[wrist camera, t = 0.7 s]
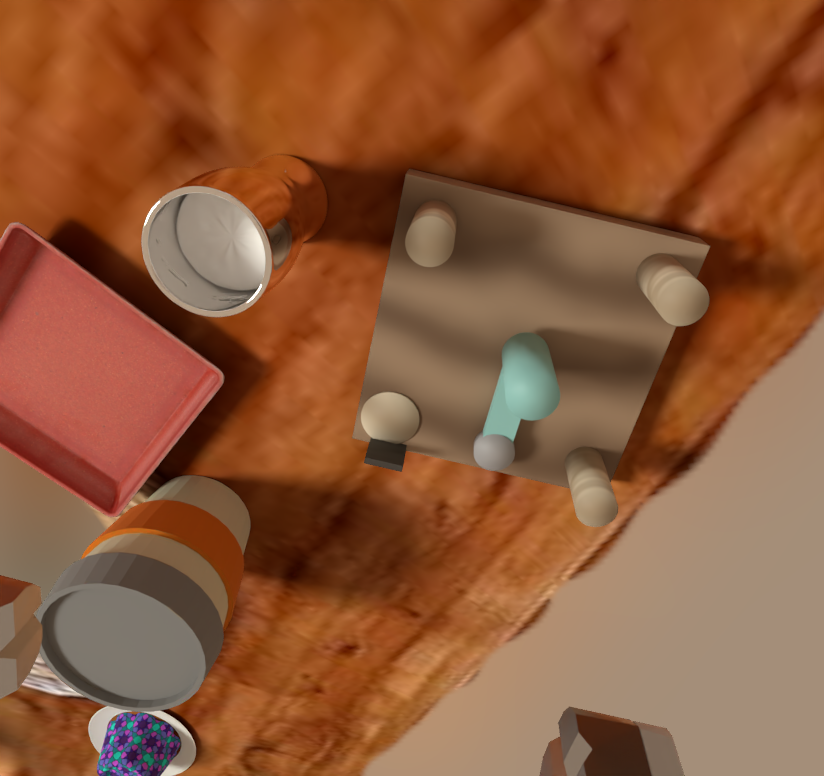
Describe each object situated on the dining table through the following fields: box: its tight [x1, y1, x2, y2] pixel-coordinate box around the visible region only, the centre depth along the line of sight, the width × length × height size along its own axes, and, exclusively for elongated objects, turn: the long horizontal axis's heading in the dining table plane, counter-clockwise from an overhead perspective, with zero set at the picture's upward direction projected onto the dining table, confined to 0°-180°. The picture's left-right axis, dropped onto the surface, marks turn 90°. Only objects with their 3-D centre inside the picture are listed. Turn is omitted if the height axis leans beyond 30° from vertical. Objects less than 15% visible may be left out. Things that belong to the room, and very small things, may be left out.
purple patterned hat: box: [88, 706, 196, 776], centre depth 71 cm, size 12×12×5 cm
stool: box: [352, 168, 710, 527], centre depth 45 cm, size 20×20×8 cm
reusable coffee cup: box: [36, 475, 251, 712], centre depth 52 cm, size 12×12×15 cm
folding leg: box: [474, 332, 560, 471], centre depth 44 cm, size 11×3×8 cm, turn 168°
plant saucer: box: [0, 222, 225, 517], centre depth 52 cm, size 18×18×3 cm
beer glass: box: [141, 155, 328, 317], centre depth 39 cm, size 7×7×15 cm
